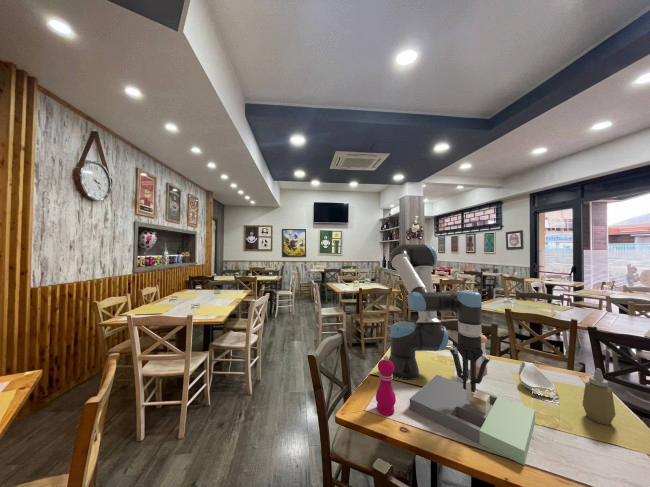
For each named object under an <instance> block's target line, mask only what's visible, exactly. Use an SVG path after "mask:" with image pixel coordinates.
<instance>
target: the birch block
mask: <svg viewBox="0 0 650 487" xmlns="http://www.w3.org/2000/svg"><path fill="white" fill-rule="evenodd" d="M470 408H472V409H474V410H477V411H479V412H482V413H484V414H486V413H487V412H488V410H489V408H490V395H487V394H484V393H482V392H479V391H475V392H472V393H471V394H470Z"/></svg>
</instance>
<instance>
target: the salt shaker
mask: <svg viewBox="0 0 650 487" xmlns="http://www.w3.org/2000/svg"><path fill="white" fill-rule="evenodd" d="M480 336H481V349H482V351H483V354H484V355H485V356H486V357H487V354H486V343H487V342H488V338H487V336H486V335H484V334H482V333H481V335H480ZM481 359H482V358H481V357H480V358H479V359H478V360H477V362H476V375H478V373H479V370H480V366H481V364H482V361H481ZM486 375H488V364H487V365H486V368H485V372H484V375H483V376H486Z"/></svg>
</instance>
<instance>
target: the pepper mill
mask: <svg viewBox="0 0 650 487" xmlns="http://www.w3.org/2000/svg"><path fill="white" fill-rule="evenodd" d="M377 370H378V372H379V373H378V374H379V375H378V377H379V380H380V381H379V386H378V388H377V391H376V394H375V400H376V410H377V412H378V413H379V414H381V415H383V416H393V415H394V413H395V404H396V400H397V399H396V394H395V392H394V389H393V384H392V381H393V379H394V376H393V374H392V373H393V372H394V365H393V363H392V362H391V361H390V360H389V356H387V355H384V356H383V359H381V360H379V362H377Z"/></svg>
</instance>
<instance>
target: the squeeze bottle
mask: <svg viewBox="0 0 650 487" xmlns="http://www.w3.org/2000/svg"><path fill="white" fill-rule="evenodd" d="M614 401H615V400H614V395H613V389H612V388H611V387H609V381H608V380H607V379H605V378H604V376H603V373H602V370H601V368H597V367H596V368H595V371H594V374H593V375H591V376H588V381H586V382H585V384H584V390H583V398H582V406H583V409H584V412H585V414H586V417H587V418H588V419H590V420H592V421H593V422H596V423H598V424H601V425H607V426H608V425H609V426H610V425H611V423H612V422H613V420H614V418H615V417H616V415H617V414H616V409H615V402H614Z"/></svg>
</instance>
